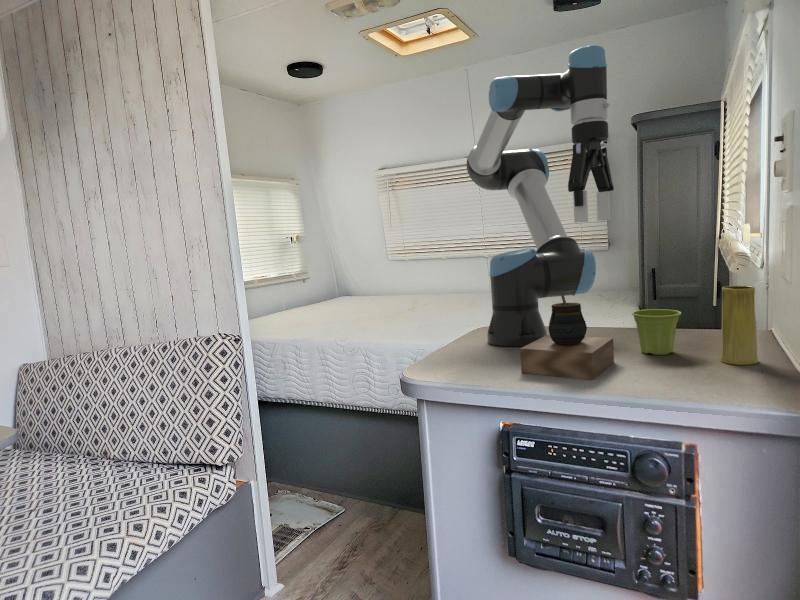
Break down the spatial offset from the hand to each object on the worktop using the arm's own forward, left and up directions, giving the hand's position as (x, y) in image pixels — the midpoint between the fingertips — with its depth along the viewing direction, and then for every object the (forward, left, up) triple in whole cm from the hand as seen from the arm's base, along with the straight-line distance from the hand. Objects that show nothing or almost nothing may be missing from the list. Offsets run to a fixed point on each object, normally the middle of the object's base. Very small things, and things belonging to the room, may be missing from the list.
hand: (593, 221), depth 116 cm
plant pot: (+12, 0, -29) cm, 32 cm away
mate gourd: (-1, -18, -24) cm, 30 cm away
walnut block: (-1, -18, -29) cm, 34 cm away
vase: (+27, -4, -29) cm, 40 cm away
